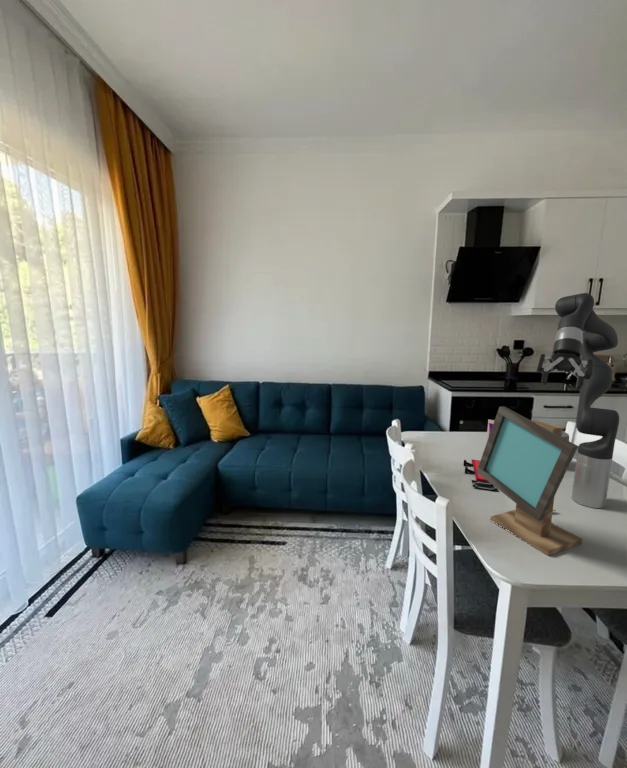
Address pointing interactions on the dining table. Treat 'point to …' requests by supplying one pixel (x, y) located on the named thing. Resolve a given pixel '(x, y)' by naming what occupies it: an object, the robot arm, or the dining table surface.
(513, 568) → the dining table surface
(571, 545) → the framed display stand
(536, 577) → the dining table surface
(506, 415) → the picture frame
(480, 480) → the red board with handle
